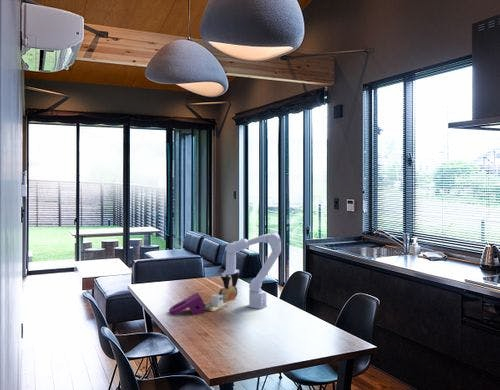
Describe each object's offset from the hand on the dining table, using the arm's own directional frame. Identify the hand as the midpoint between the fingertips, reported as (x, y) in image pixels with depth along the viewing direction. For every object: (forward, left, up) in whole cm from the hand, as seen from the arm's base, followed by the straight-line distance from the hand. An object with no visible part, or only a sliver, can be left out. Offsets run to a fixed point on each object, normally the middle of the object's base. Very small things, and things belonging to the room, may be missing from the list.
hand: (230, 287), depth 268 cm
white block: (+3, +9, -9) cm, 13 cm away
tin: (+8, -8, -11) cm, 16 cm away
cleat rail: (+3, +9, -10) cm, 14 cm away
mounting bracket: (+11, +26, -11) cm, 30 cm away
